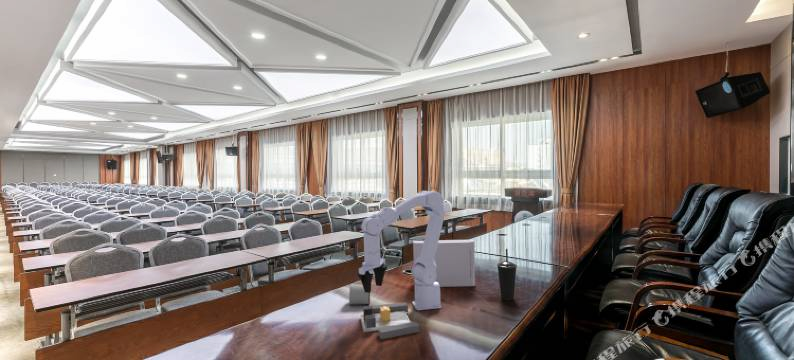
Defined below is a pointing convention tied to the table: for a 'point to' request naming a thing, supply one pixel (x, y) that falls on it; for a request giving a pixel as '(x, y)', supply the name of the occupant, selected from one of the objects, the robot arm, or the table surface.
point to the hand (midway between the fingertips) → (373, 288)
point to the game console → (452, 262)
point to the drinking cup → (507, 278)
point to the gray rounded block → (358, 295)
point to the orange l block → (384, 313)
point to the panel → (374, 321)
